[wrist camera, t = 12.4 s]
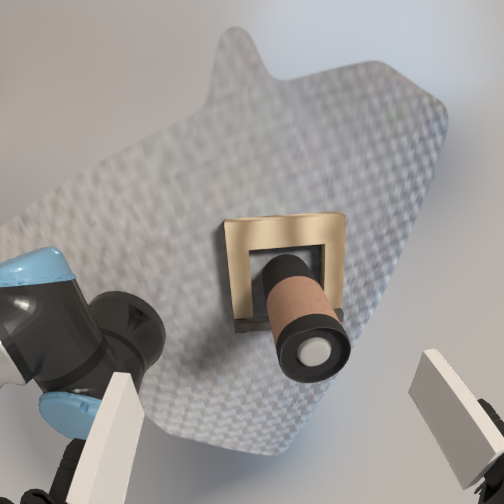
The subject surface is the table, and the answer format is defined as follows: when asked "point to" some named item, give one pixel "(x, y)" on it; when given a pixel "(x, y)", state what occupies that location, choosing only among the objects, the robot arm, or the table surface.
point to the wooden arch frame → (276, 236)
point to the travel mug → (303, 322)
